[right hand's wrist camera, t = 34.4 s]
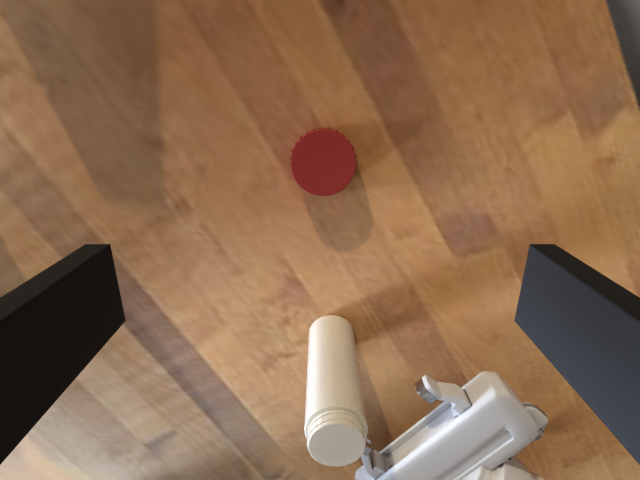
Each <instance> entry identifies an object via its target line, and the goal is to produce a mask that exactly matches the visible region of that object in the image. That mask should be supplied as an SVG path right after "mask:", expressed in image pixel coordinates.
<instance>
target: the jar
mask: <svg viewBox="0 0 640 480" xmlns="http://www.w3.org/2000/svg"><path fill="white" fill-rule="evenodd" d="M304 431H305V436H306V438H307V448H308V451H309V453H310V454H311V456H312V457H313V458H314V459H315V460H316V461H318V462H320V463H322V464H323V465H327V466H333V467H339V466H346V465H349V464H351V463H353V462H355V461H356V460H358V459H359V458H360V457H361V456H362V454H363V452H364V450H365V445H366V436H367V433H368V425H367V419H366V412H365V405H364V398H363V391H362V384H361V377H360V370H359V363H358V356H357V349H356V342H355V336H354V330H353V327H352V325H351V324H350V323H349V322H348V321H347V320H346V319H344V318H343V317H340V316H337V315H327V316H323V317H321V318H319V319H317V320H316V321H315V322H314V323H313V324H312V326H311V327H310V330H309V342H308V364H307V385H306V406H305V428H304Z"/></svg>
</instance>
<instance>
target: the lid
mask: <svg viewBox="0 0 640 480" xmlns="http://www.w3.org/2000/svg"><path fill="white" fill-rule="evenodd" d="M353 149H354V148H353V146H351V144H350V141H349V140H347V139H346V138H345V136H344V135H342V134H340V133H339V132H338V131H334V130H331V129H330V128H329V129H323V128H321V129H316V130H315V129H314V130H313V131H310V132H307V133H306V134H305V135H304V136H303V137H302V136H301V137H300V140H299V141H298V142H296V144H295V147H294V149H293V150H292V155H291V158H290V159H291V165H290V167H291V170H292V174H293V176H294V178H295V181H296V182H297V183H298V184H299V185H300V187H302V188H303V189H304V190H306V191H307V192H309V193H311V194H314V195H319V196H328V195H332V194H335V193H337V192H339V191H341V190H343V189H344V188H345V187H346V186H347V185H348V184H349V183H350V181H351V180H352V178H353V176H354V173H355V169H356V164H357V163H356V155H355V153H354V150H353Z"/></svg>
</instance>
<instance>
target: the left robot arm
mask: <svg viewBox="0 0 640 480" xmlns="http://www.w3.org/2000/svg"><path fill="white" fill-rule="evenodd" d="M415 386H416V387H417V389H416V390H417V392H418V394H419V395H420V396H421V397H422V398H425V399H426V401H427V402H429V403H430V404H431V403H433V402H434V401H435V400H441V401H444V402H442V403H441V404H440V405H439V406H437V407H436V408H435V409H434V410H432V411H431V412H430V413H428V414H427V415H426V416H425V417H423V418H422V419H421V420H420V421H418V422H417V423H416V424H415V425H413V426H412V427H411V428H409V429H408V430H407V431H406V432H404V433H403V434H402V435H401V436H399V437H398V438H397V439H395V440H394V441H393V442H392V443H390V444H389V445H388V446H387V447H385V448H384V449H383V450H381V451H380V452H377V451H376V450H372V446H371V444H370V443H371V439H370V436H369V435H368V434H367V436H366V445H365V450H364V452H363V454H362V456H361V458H362V461H363V464H364V465H362V466H361V467H360V468H358V469H357V470H356V473H355V480H545V479H543V478H542V477H541V476H539V475H538V474H536V473H534V472H532V471H530V470H528V469H527V467H526V466H525V465H524V464H523V463H522V462H521V461H520V460H519V459H518V458H517V457H515V455H517V454H518V453H520V452H521V451H522V450H524V449H525V448H526V446H528V445H529V444H530V443H532V442H533V441H537V440H538V439H540V438H541V437H542V436H543V435H544V431H543V430H544V429H545V428H546V426H547V424H548V418H547V415H546V414H545V413H544V412H543V411H542V410H540V409H539V408H538V407H537V406H535V405H534V404H532V403H528V402H522V401H521V399H520V398H519V397H518V395H517V394H516V393H515V391H514V390H513V389H512V388H511V387H510V385H509V384H508V383H507V382H506V381H505V380H504V379H503V378H502V377H501V376H500V375H499V374H498V373H496V372H491V371H483V372H481V373H479V374H478V375H477V376H476V377H474V378H473V379H472V380H470V381H469V382H468V383H467V384H465V385H464V386H463V387H462V388H460V387H459V386H458V385H457V384H452V383H444V382H436V381H434V380H433V379H432V378H431V377H429V376H428V375H426V374H425V375H424V376H423V377H422V378H421V379H420V380H418V381H417V382H416V383H415Z"/></svg>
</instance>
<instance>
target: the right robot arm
mask: <svg viewBox="0 0 640 480" xmlns="http://www.w3.org/2000/svg"><path fill="white" fill-rule="evenodd" d="M124 322H125V316H124V311H123V306H122V301H121V296H120V291H119V286H118V281H117V276H116V271H115V266H114V261H113V256H112V251H111V246H110V244H85V245H84V246H82V247H81V248H79V249H77V250H76V251H74V252H73V253H71V254H69V255H68V256H66V257H65V258H63V259H62V260H60V261H58V262H57V263H55V264H54V265H52V266H50V267H49V268H47V269H46V270H44V271H42V272H41V273H39V274H38V275H36V276H34V277H33V278H31V279H30V280H28V281H26V282H25V283H23V284H22V285H20V286H19V287H17V288H15V289H14V290H12V291H11V292H9V293H7V294H6V295H4V296H3V297H1V298H0V464H1V463H2V462H3V461H4V460H5V459H6V457H7V456H8V455H9V454H10V453H11V452H12V451H13V449H14V448H15V447H16V446H17V445H18V444H19V442H20V441H21V440H22V439H23V438H24V437H25V436H26V434H27V433H28V432H29V431H30V430H31V429H32V428H33V426H34V425H35V424H36V423H37V422H38V421H39V420H40V418H41V417H42V416H43V415H44V414H45V413H46V411H47V410H48V409H49V408H50V407H51V406H52V405H53V403H54V402H55V401H56V400H57V399H58V398H59V397H60V395H61V394H62V393H63V392H64V391H65V390H66V388H67V387H68V386H69V385H70V384H71V383H72V382H73V380H74V379H75V378H76V377H77V376H78V375H79V374H80V372H81V371H82V370H83V369H84V368H85V367H86V365H87V364H88V363H89V362H90V361H91V360H92V359H93V357H94V356H95V355H96V354H97V353H98V352H99V351H100V349H101V348H102V347H103V346H104V345H105V344H106V342H107V341H108V340H109V339H110V338H111V337H112V336H113V334H114V333H115V332H116V331H117V330H118V329H119V328H120V326H121V325H122V324H123V323H124ZM515 322H516V323H517V324H518V325H519V326H520V328H521V329H522V330H523V331H524V332H525V333H526V334H527V336H528V337H529V338H530V339H531V340H532V341H533V342H534V344H535V345H536V346H537V347H538V348H539V349H540V351H541V352H542V353H543V354H544V355H545V356H546V357H547V359H548V360H549V361H550V362H551V363H552V364H553V365H554V367H555V368H556V369H557V370H558V371H559V372H560V374H561V375H562V376H563V377H564V378H565V379H566V380H567V382H568V383H569V384H570V385H571V386H572V387H573V388H574V390H575V391H576V392H577V393H578V394H579V395H580V397H581V398H582V399H583V400H584V401H585V402H586V403H587V405H588V406H589V407H590V408H591V409H592V410H593V411H594V413H595V414H596V415H597V416H598V417H599V418H600V420H601V421H602V422H603V423H604V424H605V425H606V426H607V428H608V429H609V430H610V431H611V432H612V433H613V434H614V436H615V437H616V438H617V439H618V440H619V441H620V442H621V444H622V445H623V446H624V447H625V448H626V449H627V451H628V452H629V453H630V454H631V455H632V456H633V457H634V459H635V460H636V461H637V462H638V463H639V464H640V298H639V297H637V296H636V295H634V294H633V293H631V292H629V291H628V290H626V289H625V288H623V287H621V286H620V285H618V284H617V283H615V282H614V281H612V280H610V279H609V278H607V277H606V276H604V275H602V274H601V273H599V272H598V271H596V270H594V269H593V268H591V267H590V266H588V265H586V264H585V263H583V262H582V261H580V260H578V259H577V258H575V257H574V256H572V255H571V254H569V253H567V252H566V251H564V250H563V249H561V248H559V247H558V246H556V245H555V244H530V246H529V251H528V256H527V261H526V266H525V271H524V276H523V281H522V286H521V291H520V296H519V301H518V306H517V311H516V316H515Z"/></svg>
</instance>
